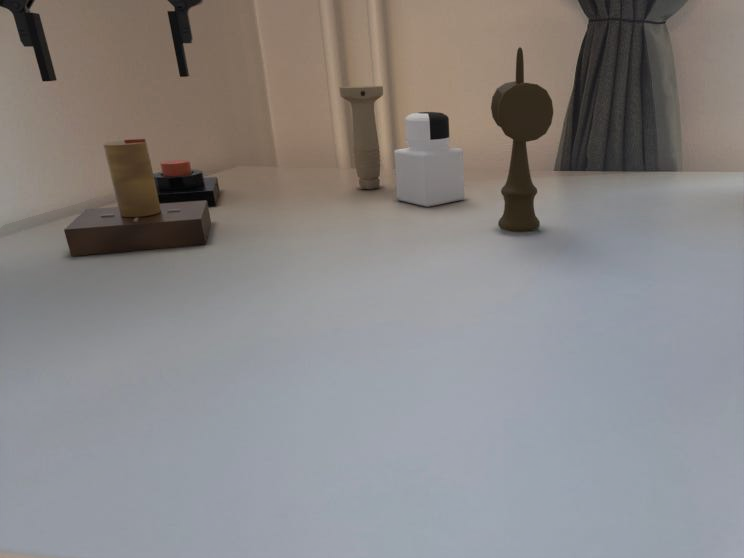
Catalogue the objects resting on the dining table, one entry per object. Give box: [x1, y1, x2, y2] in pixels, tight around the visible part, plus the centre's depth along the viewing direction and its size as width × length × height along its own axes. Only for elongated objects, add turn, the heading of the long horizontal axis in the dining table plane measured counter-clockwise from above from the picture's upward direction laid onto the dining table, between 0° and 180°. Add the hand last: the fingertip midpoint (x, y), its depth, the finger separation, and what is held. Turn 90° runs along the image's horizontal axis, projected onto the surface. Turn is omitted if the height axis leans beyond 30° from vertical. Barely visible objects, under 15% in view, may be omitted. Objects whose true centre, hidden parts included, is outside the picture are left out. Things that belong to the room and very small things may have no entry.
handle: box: [339, 85, 384, 191], centre depth 105 cm, size 5×6×15 cm
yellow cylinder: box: [103, 138, 161, 217], centre depth 78 cm, size 4×4×8 cm
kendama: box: [490, 46, 554, 233], centre depth 77 cm, size 6×10×20 cm, turn 6°
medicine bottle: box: [393, 111, 465, 208], centre depth 96 cm, size 7×7×12 cm
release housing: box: [153, 169, 221, 207], centre depth 101 cm, size 10×12×4 cm
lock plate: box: [63, 200, 212, 257], centre depth 80 cm, size 14×11×3 cm
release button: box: [159, 159, 192, 176], centre depth 100 cm, size 4×4×2 cm
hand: (118, 79), depth 75 cm, fingers open, 13 cm apart
